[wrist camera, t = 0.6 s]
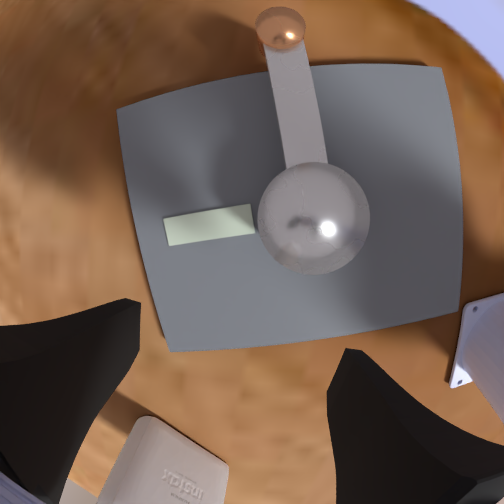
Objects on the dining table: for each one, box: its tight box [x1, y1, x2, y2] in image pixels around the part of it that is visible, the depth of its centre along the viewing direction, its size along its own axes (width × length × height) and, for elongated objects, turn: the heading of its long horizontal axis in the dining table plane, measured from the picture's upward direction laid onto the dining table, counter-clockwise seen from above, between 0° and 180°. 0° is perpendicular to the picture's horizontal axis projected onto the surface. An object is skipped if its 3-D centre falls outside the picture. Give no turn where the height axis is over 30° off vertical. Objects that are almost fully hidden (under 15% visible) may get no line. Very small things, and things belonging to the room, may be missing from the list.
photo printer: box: [96, 416, 229, 504], centre depth 18 cm, size 10×4×12 cm, turn 44°
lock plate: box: [116, 64, 463, 352], centre depth 16 cm, size 20×16×2 cm
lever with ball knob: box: [255, 7, 370, 275], centre depth 13 cm, size 13×5×2 cm, turn 9°
